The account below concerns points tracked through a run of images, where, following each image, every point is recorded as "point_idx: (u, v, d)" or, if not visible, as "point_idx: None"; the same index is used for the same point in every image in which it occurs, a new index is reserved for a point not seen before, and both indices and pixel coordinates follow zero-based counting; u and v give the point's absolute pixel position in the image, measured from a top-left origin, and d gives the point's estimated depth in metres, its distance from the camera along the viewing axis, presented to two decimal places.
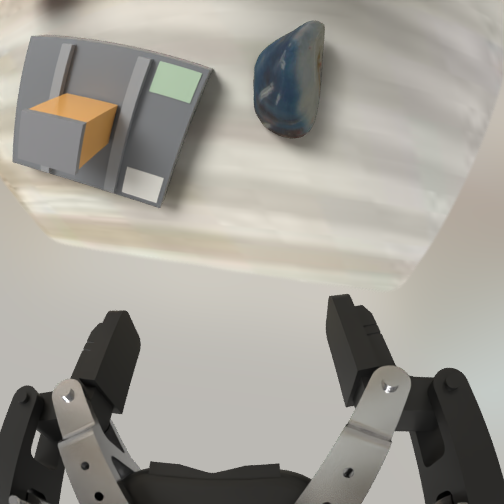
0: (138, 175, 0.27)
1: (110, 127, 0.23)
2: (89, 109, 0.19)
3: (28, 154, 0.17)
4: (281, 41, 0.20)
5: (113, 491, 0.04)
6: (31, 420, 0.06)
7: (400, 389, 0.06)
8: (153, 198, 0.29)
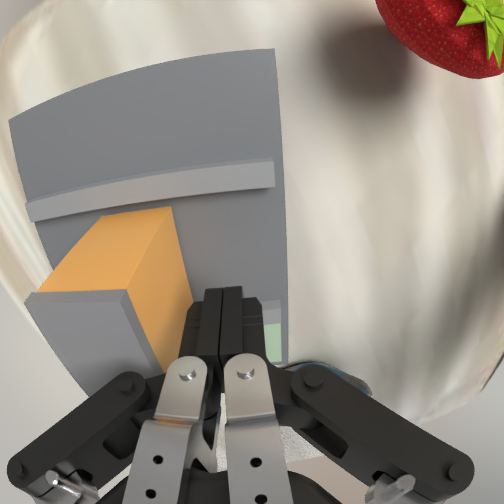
0: None
1: None
2: (178, 325, 0.13)
3: (50, 330, 0.08)
4: None
5: (169, 498, 0.04)
6: (121, 415, 0.06)
7: (252, 377, 0.07)
8: None
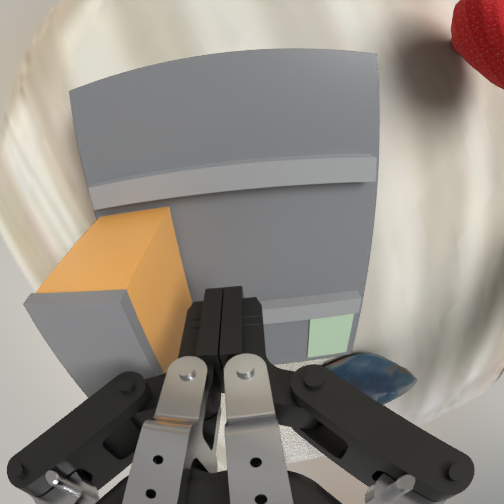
0: None
1: None
2: (177, 325, 0.13)
3: (50, 331, 0.08)
4: (389, 373, 0.22)
5: (168, 498, 0.04)
6: (121, 415, 0.06)
7: (252, 377, 0.07)
8: None
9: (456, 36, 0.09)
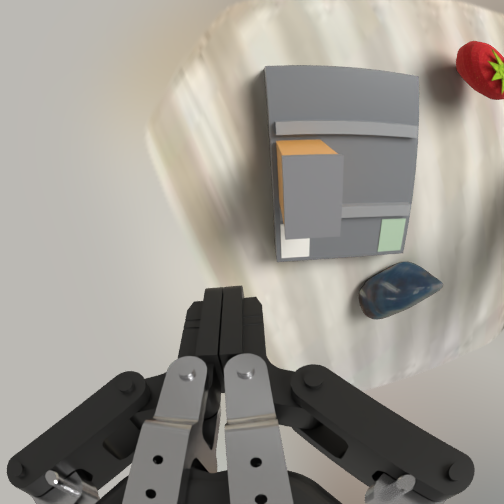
0: None
1: None
2: None
3: (292, 175, 0.19)
4: (423, 275, 0.33)
5: (168, 498, 0.04)
6: (121, 415, 0.06)
7: (252, 377, 0.07)
8: (285, 254, 0.31)
9: (458, 67, 0.19)
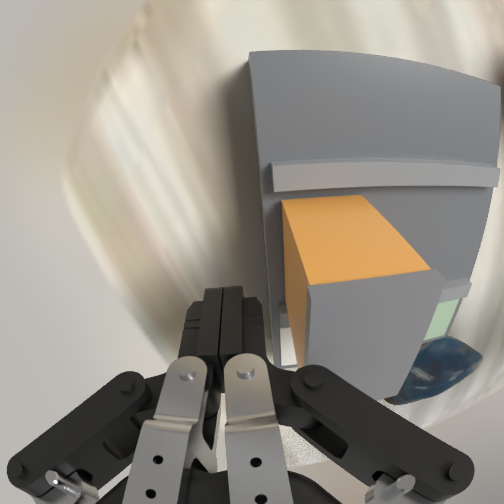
0: None
1: None
2: None
3: (331, 331, 0.08)
4: (462, 352, 0.22)
5: (168, 498, 0.04)
6: (121, 415, 0.06)
7: (252, 377, 0.07)
8: (286, 360, 0.20)
9: None
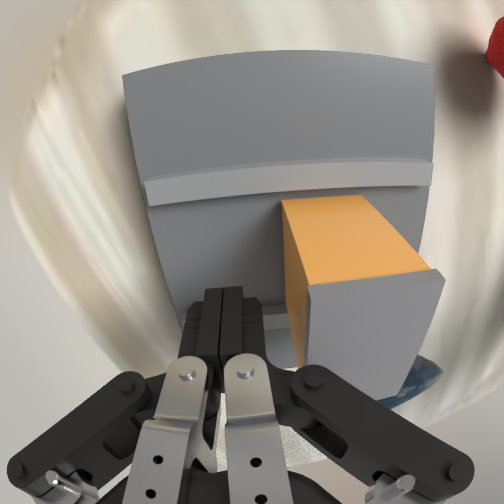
0: None
1: None
2: None
3: (330, 330, 0.08)
4: (416, 366, 0.22)
5: (169, 498, 0.04)
6: (121, 415, 0.06)
7: (252, 377, 0.07)
8: None
9: (496, 52, 0.09)
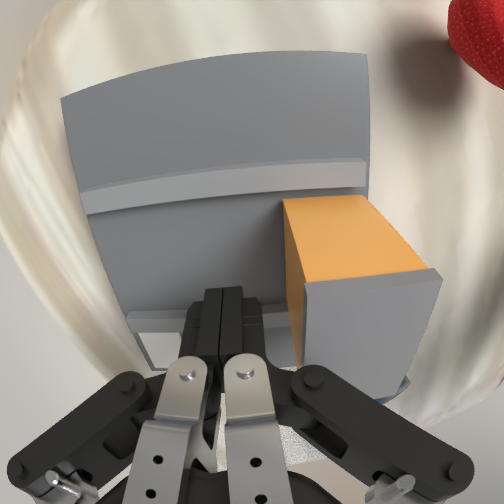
0: (175, 346, 0.19)
1: None
2: None
3: (327, 328, 0.08)
4: None
5: (168, 498, 0.04)
6: (121, 415, 0.06)
7: (252, 377, 0.07)
8: (158, 363, 0.20)
9: (452, 34, 0.09)
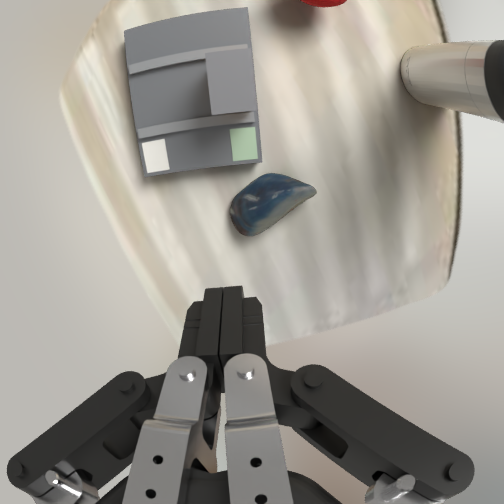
0: (161, 150, 0.33)
1: None
2: None
3: (213, 64, 0.22)
4: (287, 181, 0.36)
5: (168, 498, 0.04)
6: (121, 415, 0.06)
7: (252, 377, 0.07)
8: (149, 169, 0.34)
9: None
